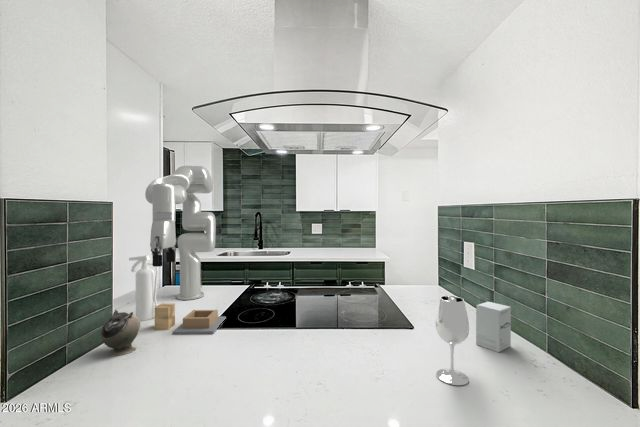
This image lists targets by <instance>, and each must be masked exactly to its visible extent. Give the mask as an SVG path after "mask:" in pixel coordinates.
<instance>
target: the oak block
mask: <svg viewBox="0 0 640 427" xmlns="http://www.w3.org/2000/svg"><path fill="white" fill-rule="evenodd" d="M153 319H154V331H155V330H156V331H157V330H158V331H160V330H161V331H165V330H166V331H168V330H170V329H172V328H173V327H174V326H176V303H172V302H171V303H168V302H167V303H164V302H163V303H160V304H159V305H158V306H156V307H155V308H154V318H153Z"/></svg>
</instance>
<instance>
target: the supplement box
mask: <svg viewBox="0 0 640 427" xmlns="http://www.w3.org/2000/svg"><path fill="white" fill-rule="evenodd" d="M475 307H476V308H475V317H476V318H475V344H476V345H477V346H480V347H483V348H486V349H488V350H491V351H493V352H496V353H500V352H502V351H504V350H506V349H507V348H510V347H511V343H512V342H511V341H512V340H511V338H512V337H511V336H512V333H511V332H512V311H511V310H512V307H511V306H509V305H505V304H501V303H497V302H492V301H485V302H483V303H479V304H476V306H475Z"/></svg>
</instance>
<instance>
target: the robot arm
mask: <svg viewBox="0 0 640 427" xmlns="http://www.w3.org/2000/svg"><path fill="white" fill-rule="evenodd" d="M213 188H214V182H213V180H212V176H211V175H210V172H209V170H208V169H207V168H206V167H205V166H202V165H181V166H179V167H178V168H177V169H175V171H174V172H173V173H172V174H170V175H166V176H162V177H158V178H155V179H154V180H152V181H151V182H150V183H149V184H148V185H147V187H146V188H145V194H144V195H145V199H146V201H147V202H148V203H149V204H151V206H152V223H151V229H150V242H149V246H150V251H151V256H152V263H153V265H152V266H153V267H157V266H158V267H163V254H162V253H163V251H164V250H165V249H166V251H165V257H166V258H165V261H166V263H174V262H176V251H177V248H178V253H179V254H178V255H179V294H177V295H176V299H177V300H180V301H189V300H190V301H192V300H197V299H200V298H203V297H204V296H205V293H204V292H203V291H202V290H201V289H202V288H203V286H202V283H201V280H202V279H201V275H202V274H201V270H202V269H201V263H202V262H201V259H200V257H199V256H198V254H197V253H208V252H209V253H210V252H213V251H214V250H215V248H216V235H217V234H216V232H217V231H216V230H217V226H216V225H217V220H216V216H215V214H214V213H213V212H212V211H201V210H202V209H201V208H202V203H201V201H200V199H199V197H197V196H196V195H195V194H210V193H211V192H213ZM181 204H182V214H181V226H182V229H183V230H185V231H189V232H187V233H186V232H185V233H183V234H181V235H179V236H178V238H176V237H177V236H176V224H175V222H176V205H181ZM190 231H193V232H190ZM194 231H196V232H194ZM197 231H202V232H197ZM203 231H204V232H203Z"/></svg>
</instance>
